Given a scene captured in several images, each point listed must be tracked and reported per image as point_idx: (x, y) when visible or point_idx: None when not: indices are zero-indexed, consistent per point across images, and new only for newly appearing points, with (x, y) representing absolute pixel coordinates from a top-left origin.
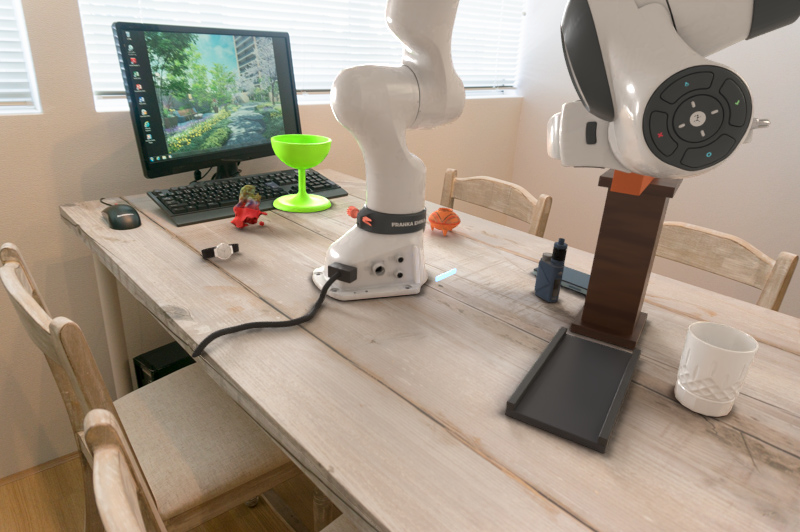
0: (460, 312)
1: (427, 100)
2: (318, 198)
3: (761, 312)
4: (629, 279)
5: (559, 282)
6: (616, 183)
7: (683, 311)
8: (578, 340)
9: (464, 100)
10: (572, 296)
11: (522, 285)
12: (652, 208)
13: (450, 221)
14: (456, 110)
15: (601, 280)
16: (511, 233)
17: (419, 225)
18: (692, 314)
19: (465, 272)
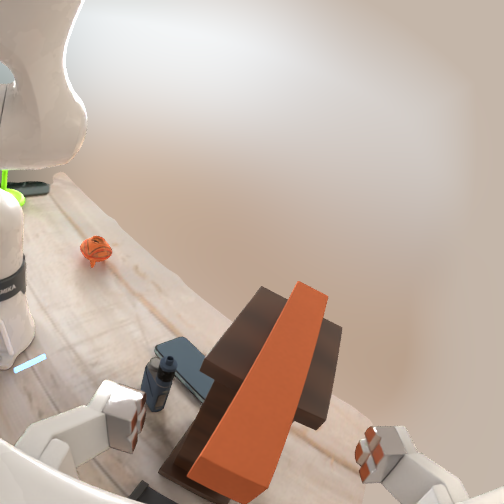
0: (38, 417)
1: (10, 135)
2: (17, 196)
3: (355, 416)
4: None
5: (165, 396)
6: (200, 475)
7: (294, 425)
8: (158, 501)
9: (77, 137)
10: (184, 399)
11: (133, 372)
12: None
13: (97, 255)
14: (61, 150)
15: (198, 447)
16: (163, 273)
17: (5, 294)
18: (301, 429)
19: (79, 336)
